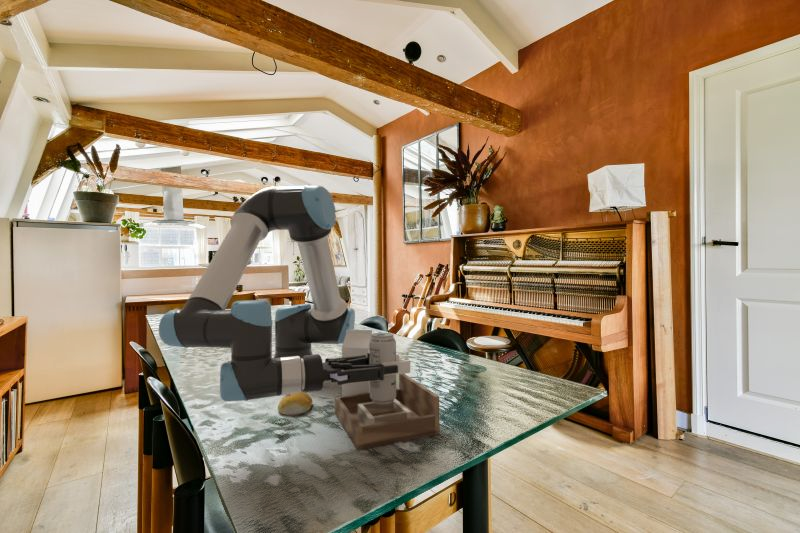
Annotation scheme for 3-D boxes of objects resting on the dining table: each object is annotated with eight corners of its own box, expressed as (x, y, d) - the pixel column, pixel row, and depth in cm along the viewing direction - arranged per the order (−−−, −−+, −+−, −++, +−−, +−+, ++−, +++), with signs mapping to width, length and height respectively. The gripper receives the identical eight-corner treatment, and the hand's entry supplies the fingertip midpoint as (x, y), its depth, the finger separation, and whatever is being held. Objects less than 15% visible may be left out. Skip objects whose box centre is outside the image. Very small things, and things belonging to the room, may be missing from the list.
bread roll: (313, 402, 100) (313, 387, 100) (309, 415, 92) (309, 398, 92) (281, 403, 99) (281, 388, 99) (274, 416, 91) (274, 400, 91)
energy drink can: (399, 404, 83) (398, 336, 83) (372, 406, 82) (371, 337, 82) (393, 395, 89) (392, 331, 89) (368, 397, 88) (367, 332, 88)
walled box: (334, 413, 91) (334, 380, 91) (402, 403, 98) (402, 372, 98) (357, 450, 73) (357, 409, 73) (439, 434, 80) (439, 396, 80)
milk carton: (368, 407, 96) (368, 332, 96) (342, 405, 97) (341, 331, 97) (375, 397, 103) (375, 328, 103) (351, 396, 104) (350, 327, 104)
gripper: (296, 380, 87) (389, 369, 96) (309, 407, 70) (421, 391, 79) (296, 347, 87) (389, 340, 96) (309, 366, 70) (421, 355, 79)
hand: (403, 363), depth 87 cm, fingers closed on energy drink can, 6 cm apart
